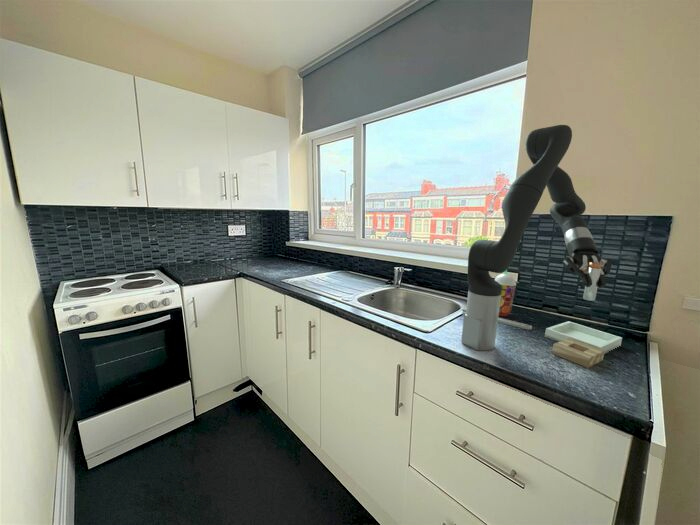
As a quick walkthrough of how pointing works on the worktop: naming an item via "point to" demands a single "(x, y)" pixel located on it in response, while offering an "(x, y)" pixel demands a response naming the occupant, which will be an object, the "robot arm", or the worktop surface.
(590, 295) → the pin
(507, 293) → the smoothie
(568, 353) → the block
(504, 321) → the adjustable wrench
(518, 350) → the worktop surface
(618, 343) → the tray
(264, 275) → the worktop surface
